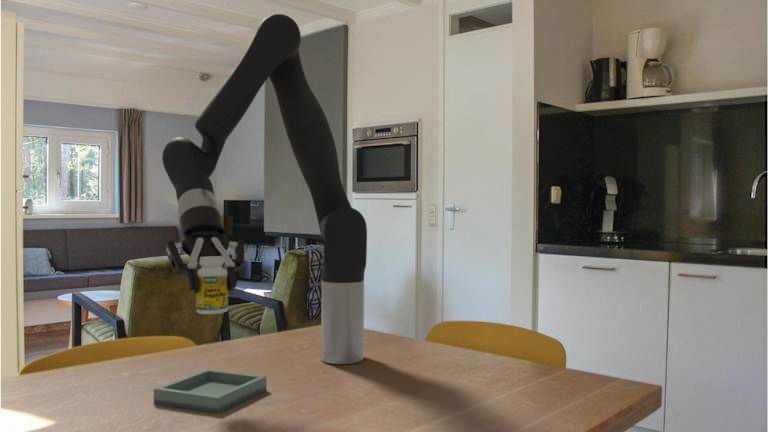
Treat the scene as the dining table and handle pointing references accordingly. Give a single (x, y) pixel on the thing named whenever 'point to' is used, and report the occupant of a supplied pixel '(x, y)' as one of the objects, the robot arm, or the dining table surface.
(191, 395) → the tray
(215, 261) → the supplement bottle
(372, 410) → the dining table surface
